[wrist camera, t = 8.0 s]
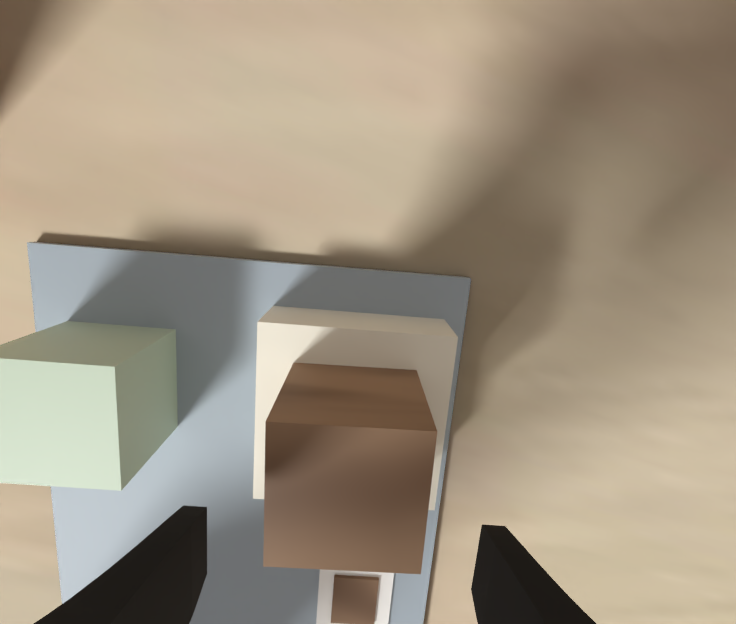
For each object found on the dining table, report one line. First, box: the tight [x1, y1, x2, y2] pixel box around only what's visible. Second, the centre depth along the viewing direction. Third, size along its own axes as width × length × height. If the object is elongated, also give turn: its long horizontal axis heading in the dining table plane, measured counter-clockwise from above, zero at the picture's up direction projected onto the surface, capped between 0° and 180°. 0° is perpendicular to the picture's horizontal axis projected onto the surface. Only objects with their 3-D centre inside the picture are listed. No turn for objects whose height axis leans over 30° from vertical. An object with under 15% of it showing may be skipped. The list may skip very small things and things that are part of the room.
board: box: [27, 242, 471, 624], centre depth 22 cm, size 22×20×1 cm
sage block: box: [0, 321, 178, 491], centre depth 18 cm, size 5×5×5 cm
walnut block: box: [263, 363, 437, 574], centre depth 15 cm, size 5×5×5 cm
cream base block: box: [253, 306, 458, 511], centre depth 19 cm, size 8×8×3 cm
